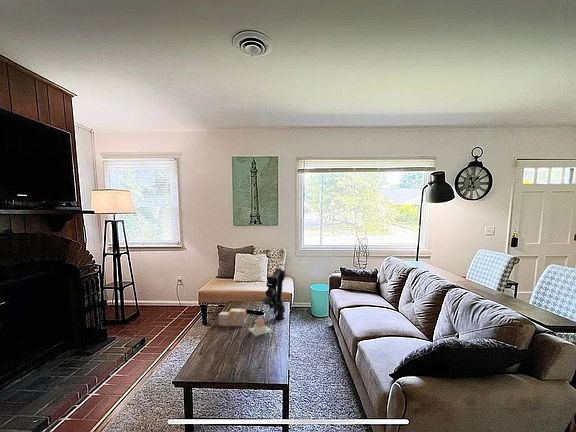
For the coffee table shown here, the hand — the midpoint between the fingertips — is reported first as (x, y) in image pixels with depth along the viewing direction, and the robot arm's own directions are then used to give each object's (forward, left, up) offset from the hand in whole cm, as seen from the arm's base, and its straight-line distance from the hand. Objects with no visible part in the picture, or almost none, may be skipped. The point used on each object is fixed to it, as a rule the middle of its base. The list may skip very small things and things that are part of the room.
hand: (273, 312), depth 213 cm
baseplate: (+11, -2, -12) cm, 16 cm away
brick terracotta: (+10, -2, -8) cm, 13 cm away
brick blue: (0, 0, -1) cm, 1 cm away
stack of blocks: (+24, -24, -12) cm, 36 cm away
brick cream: (+11, -2, -11) cm, 16 cm away
